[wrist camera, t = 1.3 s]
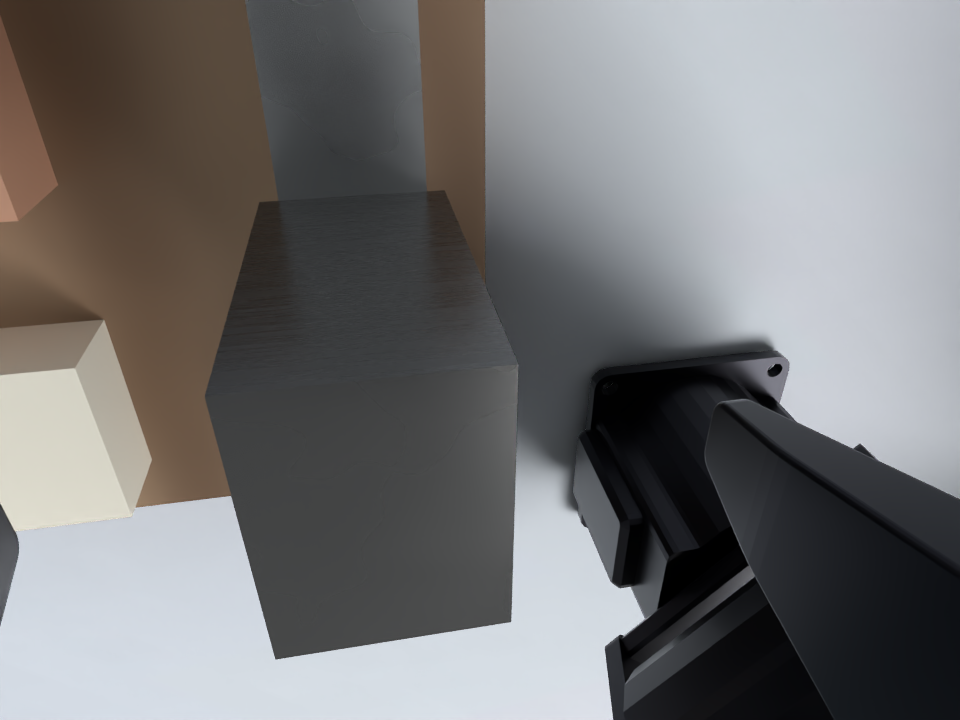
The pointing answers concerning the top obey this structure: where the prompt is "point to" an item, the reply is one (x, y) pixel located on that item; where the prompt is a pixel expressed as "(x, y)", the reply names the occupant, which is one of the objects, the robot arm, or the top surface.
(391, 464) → the scraper
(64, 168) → the board
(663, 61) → the top surface
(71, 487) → the tile cream
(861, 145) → the top surface
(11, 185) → the tile terracotta
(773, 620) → the robot arm
